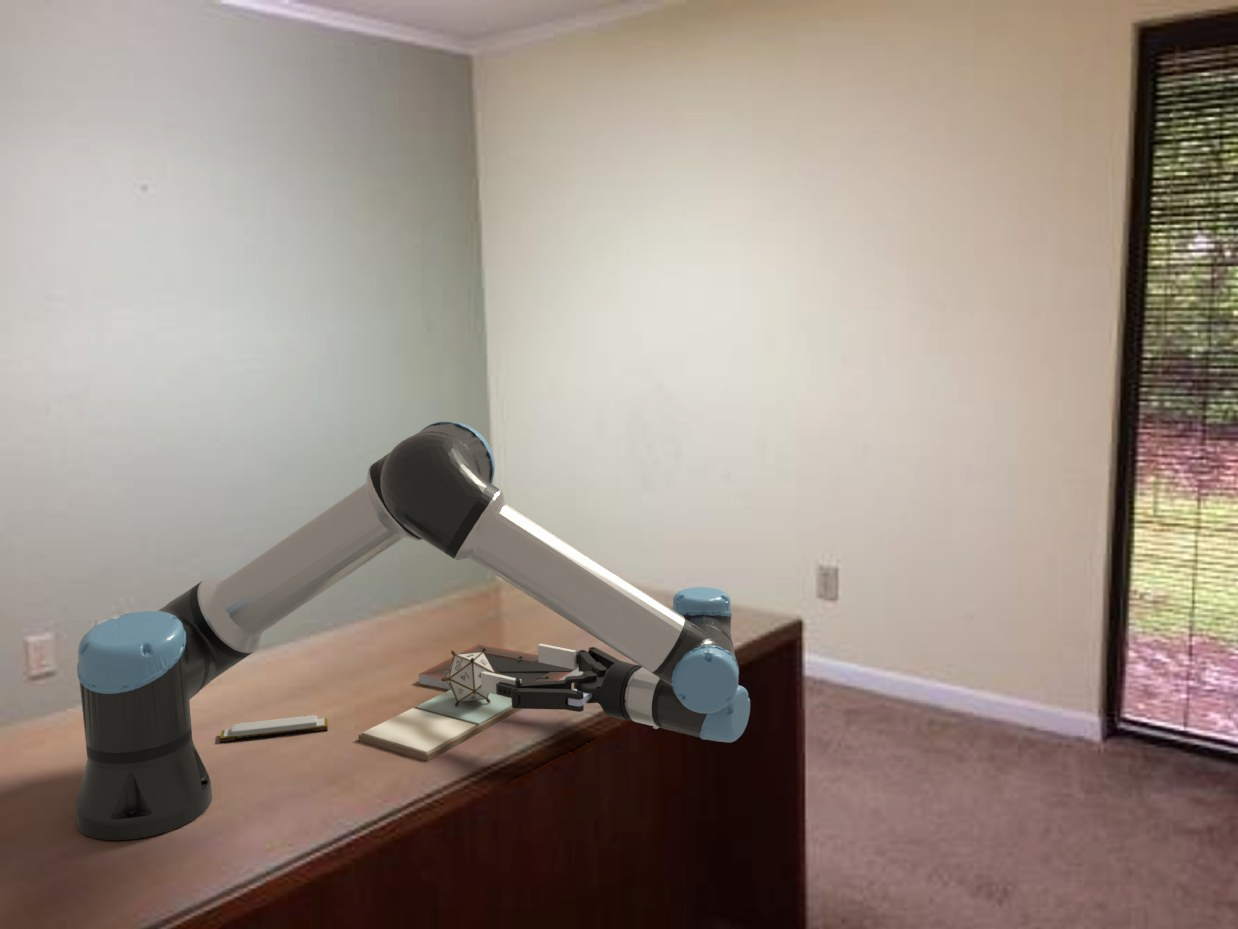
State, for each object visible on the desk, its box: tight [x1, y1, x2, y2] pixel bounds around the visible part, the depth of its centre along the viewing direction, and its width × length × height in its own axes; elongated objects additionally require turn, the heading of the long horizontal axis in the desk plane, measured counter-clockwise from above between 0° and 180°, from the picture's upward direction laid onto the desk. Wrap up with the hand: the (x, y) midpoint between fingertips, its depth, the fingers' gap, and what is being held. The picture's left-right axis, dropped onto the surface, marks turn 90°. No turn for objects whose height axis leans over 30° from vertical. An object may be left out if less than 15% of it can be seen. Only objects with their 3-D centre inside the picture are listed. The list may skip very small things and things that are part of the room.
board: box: [358, 689, 521, 762], centre depth 152 cm, size 22×13×1 cm, turn 148°
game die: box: [441, 647, 501, 707], centre depth 156 cm, size 9×8×10 cm
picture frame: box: [418, 643, 583, 691], centre depth 170 cm, size 16×2×22 cm
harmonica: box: [219, 714, 329, 745], centre depth 149 cm, size 15×3×2 cm, turn 106°
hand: (512, 666), depth 151 cm, fingers open, 13 cm apart
